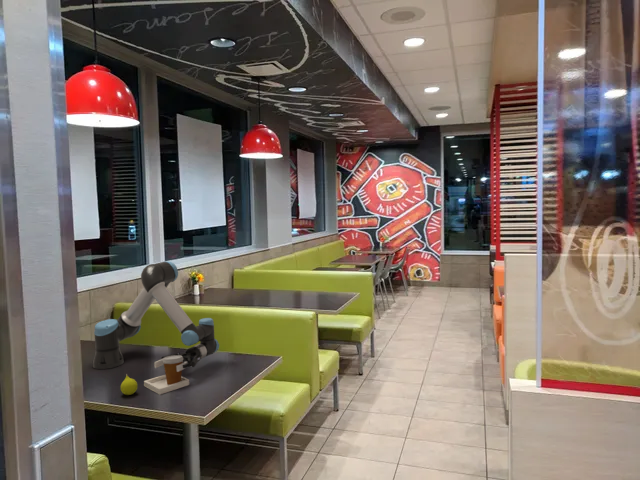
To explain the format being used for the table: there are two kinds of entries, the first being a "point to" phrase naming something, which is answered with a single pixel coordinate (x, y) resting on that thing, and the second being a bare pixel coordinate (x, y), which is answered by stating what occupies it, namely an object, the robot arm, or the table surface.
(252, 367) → the table surface
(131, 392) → the ornament
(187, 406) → the table surface
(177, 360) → the disposable coffee cup
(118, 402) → the table surface
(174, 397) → the table surface
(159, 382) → the square tray
